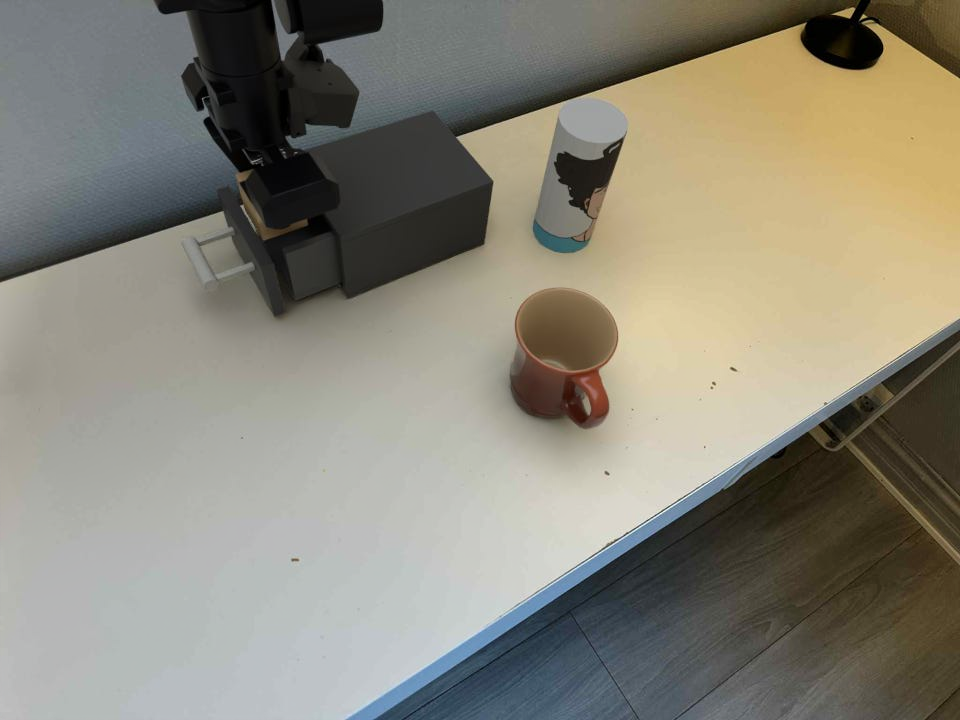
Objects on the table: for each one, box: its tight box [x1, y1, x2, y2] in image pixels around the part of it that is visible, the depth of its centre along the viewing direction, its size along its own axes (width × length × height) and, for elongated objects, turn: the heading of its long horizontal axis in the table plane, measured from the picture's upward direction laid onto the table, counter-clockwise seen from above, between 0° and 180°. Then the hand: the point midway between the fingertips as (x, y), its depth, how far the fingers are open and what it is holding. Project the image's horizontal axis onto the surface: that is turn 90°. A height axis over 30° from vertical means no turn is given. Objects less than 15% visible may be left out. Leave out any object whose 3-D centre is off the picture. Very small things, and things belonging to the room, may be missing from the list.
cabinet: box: [303, 110, 495, 300], centre depth 69 cm, size 17×12×9 cm
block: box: [235, 169, 308, 241], centre depth 60 cm, size 4×4×4 cm
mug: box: [509, 287, 619, 430], centre depth 59 cm, size 12×9×10 cm
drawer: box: [180, 185, 343, 318], centre depth 65 cm, size 20×11×7 cm, turn 122°
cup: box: [532, 96, 629, 254], centre depth 69 cm, size 7×7×15 cm
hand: (274, 210), depth 61 cm, fingers closed on block, 4 cm apart
